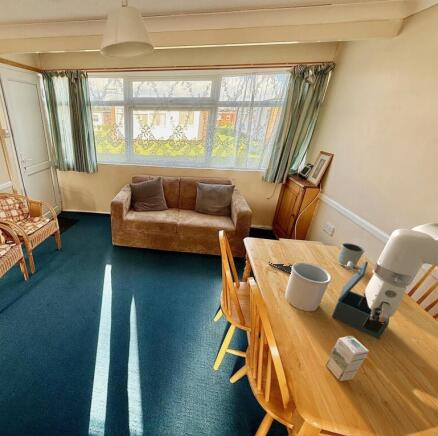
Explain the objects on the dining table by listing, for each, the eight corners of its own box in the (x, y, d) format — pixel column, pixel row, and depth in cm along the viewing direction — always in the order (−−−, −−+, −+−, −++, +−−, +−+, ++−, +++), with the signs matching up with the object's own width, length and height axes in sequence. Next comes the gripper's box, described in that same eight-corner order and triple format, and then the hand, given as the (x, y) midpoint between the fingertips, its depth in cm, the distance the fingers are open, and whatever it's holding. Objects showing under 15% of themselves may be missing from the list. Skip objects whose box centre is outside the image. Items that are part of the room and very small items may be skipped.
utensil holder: (307, 317, 101) (319, 286, 94) (276, 296, 113) (285, 267, 106) (325, 305, 107) (338, 276, 100) (294, 286, 119) (304, 258, 112)
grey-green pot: (335, 265, 137) (342, 248, 132) (334, 257, 144) (341, 241, 139) (357, 271, 131) (365, 253, 127) (355, 263, 139) (363, 246, 134)
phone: (273, 257, 142) (300, 268, 132) (273, 258, 142) (299, 270, 132) (268, 262, 137) (295, 274, 127) (267, 263, 138) (294, 275, 127)
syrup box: (353, 379, 77) (371, 350, 71) (338, 382, 77) (355, 353, 71) (338, 362, 83) (353, 334, 77) (324, 365, 82) (338, 337, 76)
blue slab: (368, 262, 97) (352, 254, 100) (364, 275, 89) (347, 266, 92) (345, 288, 105) (331, 280, 109) (339, 301, 97) (325, 293, 101)
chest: (381, 322, 99) (390, 306, 95) (379, 339, 91) (388, 324, 88) (337, 302, 109) (343, 288, 106) (331, 317, 101) (338, 302, 98)
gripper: (424, 297, 54) (390, 346, 61) (403, 262, 67) (377, 306, 74) (381, 284, 57) (354, 332, 65) (369, 254, 70) (348, 296, 78)
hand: (367, 318), depth 69 cm, fingers open, 9 cm apart
